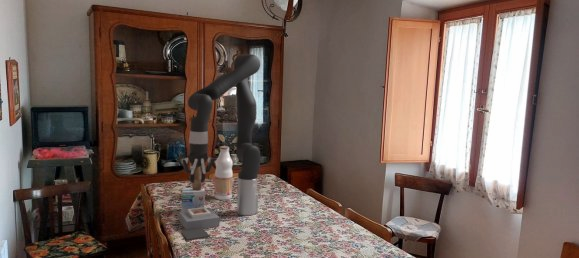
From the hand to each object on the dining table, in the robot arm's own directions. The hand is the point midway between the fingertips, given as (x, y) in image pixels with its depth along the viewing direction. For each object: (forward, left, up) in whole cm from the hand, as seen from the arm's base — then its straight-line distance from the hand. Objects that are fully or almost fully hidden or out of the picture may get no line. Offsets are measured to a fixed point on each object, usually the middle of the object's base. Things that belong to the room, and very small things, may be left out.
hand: (197, 182), depth 159 cm
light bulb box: (-4, -20, -20) cm, 29 cm away
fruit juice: (-25, -36, -20) cm, 48 cm away
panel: (-2, -4, -20) cm, 20 cm away
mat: (+3, +8, -20) cm, 21 cm away
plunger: (-2, -4, -19) cm, 20 cm away
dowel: (0, 0, -3) cm, 3 cm away
